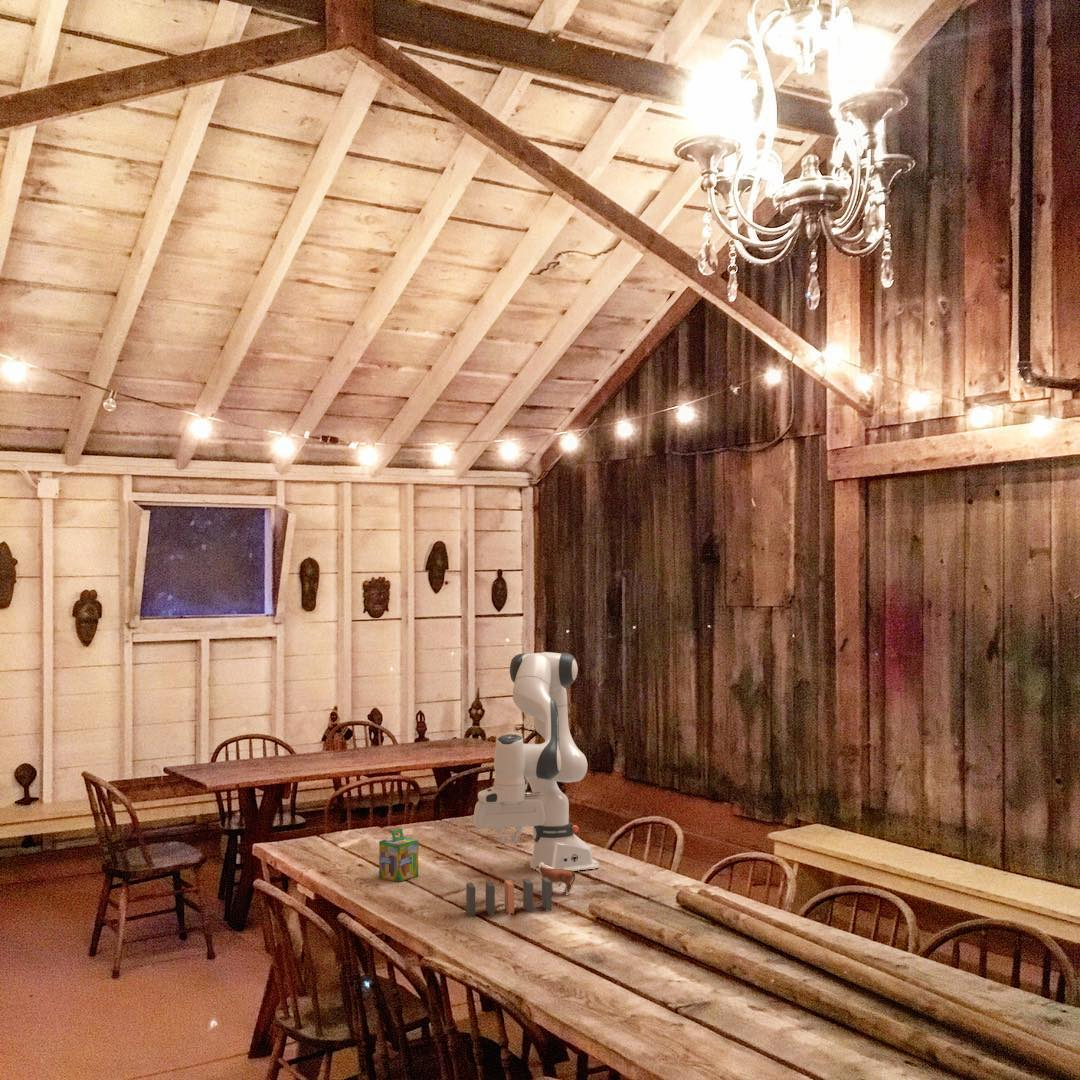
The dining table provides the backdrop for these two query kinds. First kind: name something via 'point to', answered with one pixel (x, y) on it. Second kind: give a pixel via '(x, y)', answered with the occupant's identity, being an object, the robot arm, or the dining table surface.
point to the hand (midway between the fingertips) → (509, 842)
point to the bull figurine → (557, 875)
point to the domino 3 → (509, 896)
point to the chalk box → (398, 858)
